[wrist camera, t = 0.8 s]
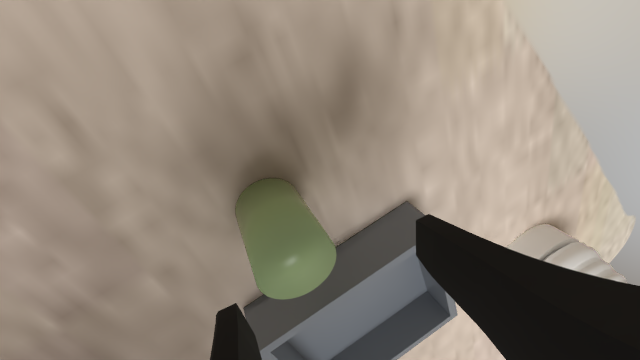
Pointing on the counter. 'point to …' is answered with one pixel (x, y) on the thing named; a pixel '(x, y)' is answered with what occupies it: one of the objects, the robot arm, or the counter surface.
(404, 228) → the bin
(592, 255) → the honey pot
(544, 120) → the counter surface
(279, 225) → the cucumber chunk
